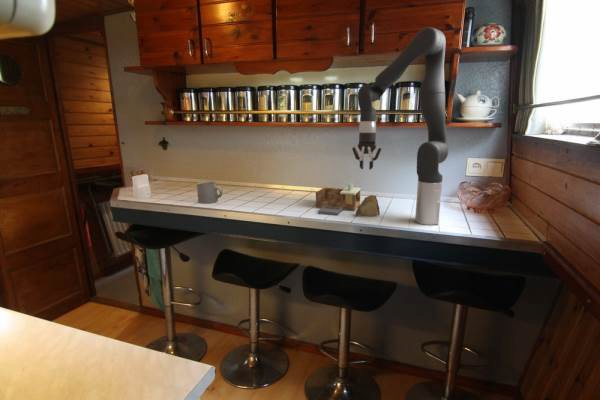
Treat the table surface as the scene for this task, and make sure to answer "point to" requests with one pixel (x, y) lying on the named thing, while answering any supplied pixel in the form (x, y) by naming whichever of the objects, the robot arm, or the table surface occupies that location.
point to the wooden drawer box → (336, 199)
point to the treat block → (348, 199)
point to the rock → (368, 207)
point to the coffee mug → (208, 192)
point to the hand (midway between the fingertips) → (366, 168)
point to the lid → (350, 190)
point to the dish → (330, 210)
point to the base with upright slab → (141, 186)
